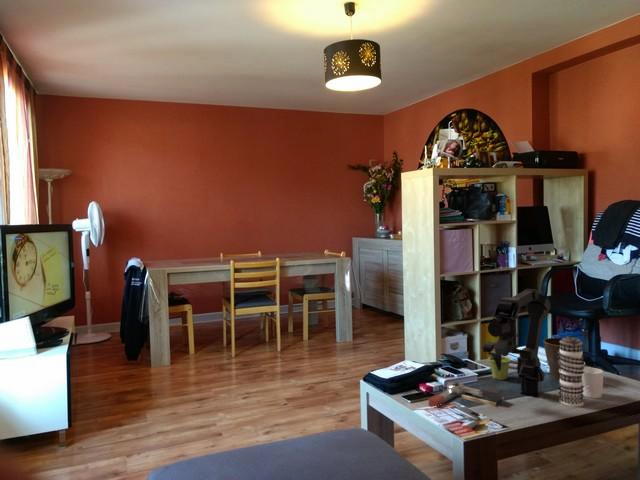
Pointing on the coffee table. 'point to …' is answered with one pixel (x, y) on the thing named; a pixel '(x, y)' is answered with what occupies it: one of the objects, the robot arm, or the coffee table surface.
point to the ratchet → (452, 393)
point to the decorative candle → (571, 372)
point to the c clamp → (513, 363)
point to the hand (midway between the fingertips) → (509, 372)
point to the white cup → (592, 382)
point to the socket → (492, 394)
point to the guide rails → (479, 399)
